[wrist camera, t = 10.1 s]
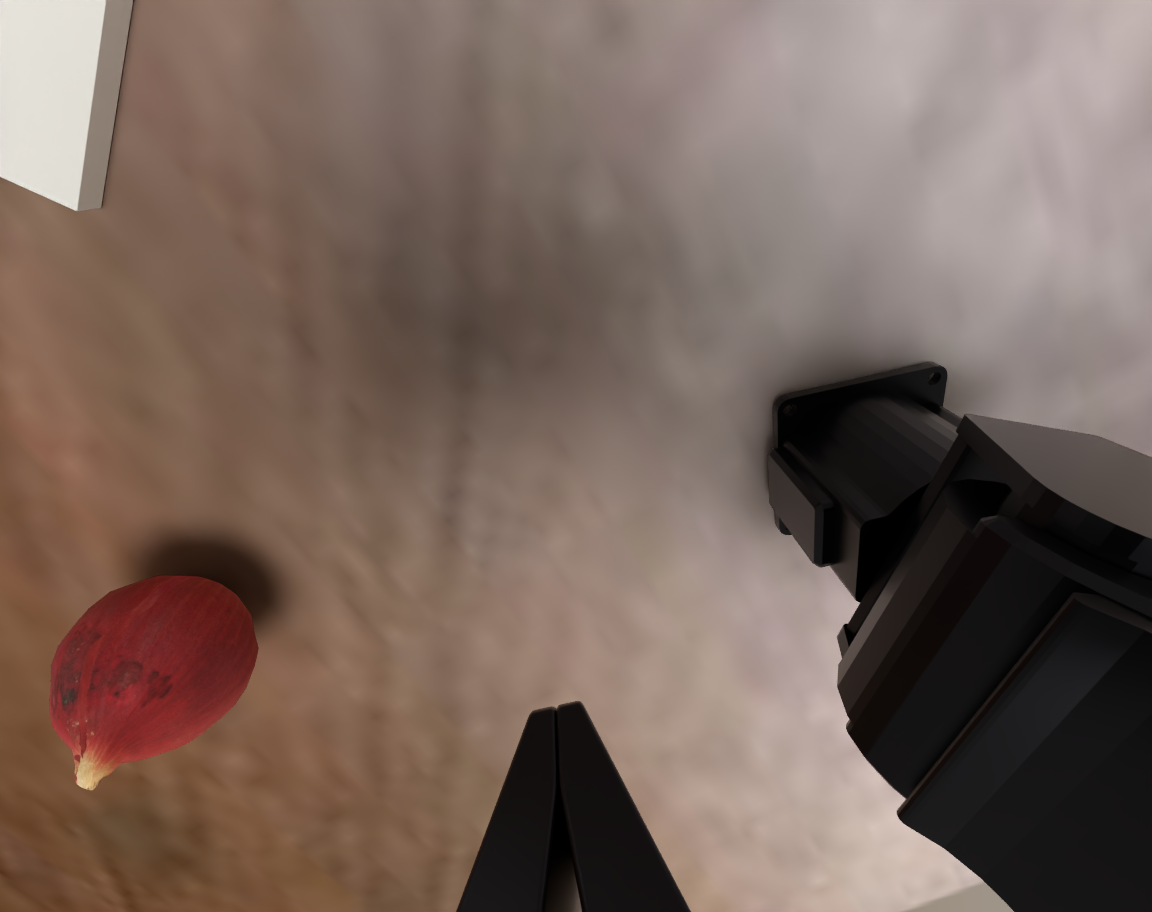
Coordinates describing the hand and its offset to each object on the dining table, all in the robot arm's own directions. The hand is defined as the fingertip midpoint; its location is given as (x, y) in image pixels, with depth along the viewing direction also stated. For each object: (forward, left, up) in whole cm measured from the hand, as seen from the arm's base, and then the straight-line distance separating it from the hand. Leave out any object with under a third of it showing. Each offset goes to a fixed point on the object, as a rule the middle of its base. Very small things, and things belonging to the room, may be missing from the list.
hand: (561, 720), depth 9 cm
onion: (+15, +5, -13) cm, 21 cm away
